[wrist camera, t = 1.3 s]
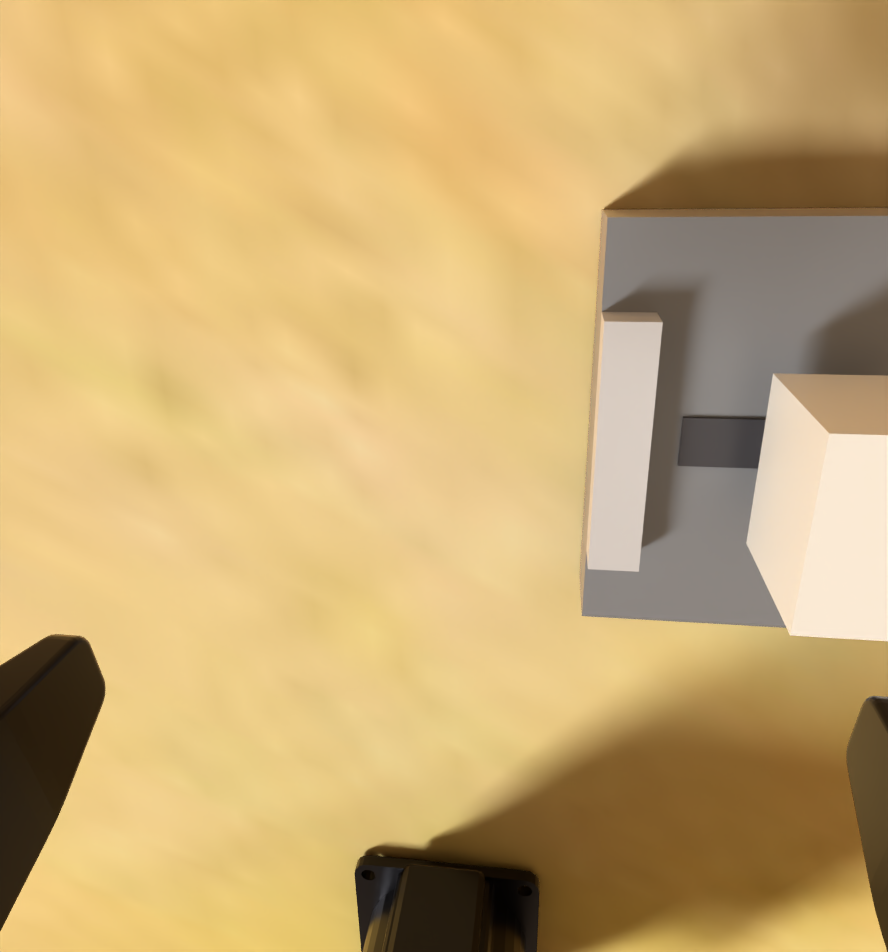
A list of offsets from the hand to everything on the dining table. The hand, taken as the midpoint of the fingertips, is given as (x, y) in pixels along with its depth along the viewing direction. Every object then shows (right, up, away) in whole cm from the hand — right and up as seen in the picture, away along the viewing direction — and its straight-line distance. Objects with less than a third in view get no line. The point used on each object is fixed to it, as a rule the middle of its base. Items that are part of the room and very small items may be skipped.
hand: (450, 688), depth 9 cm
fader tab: (+8, +3, +8) cm, 12 cm away
